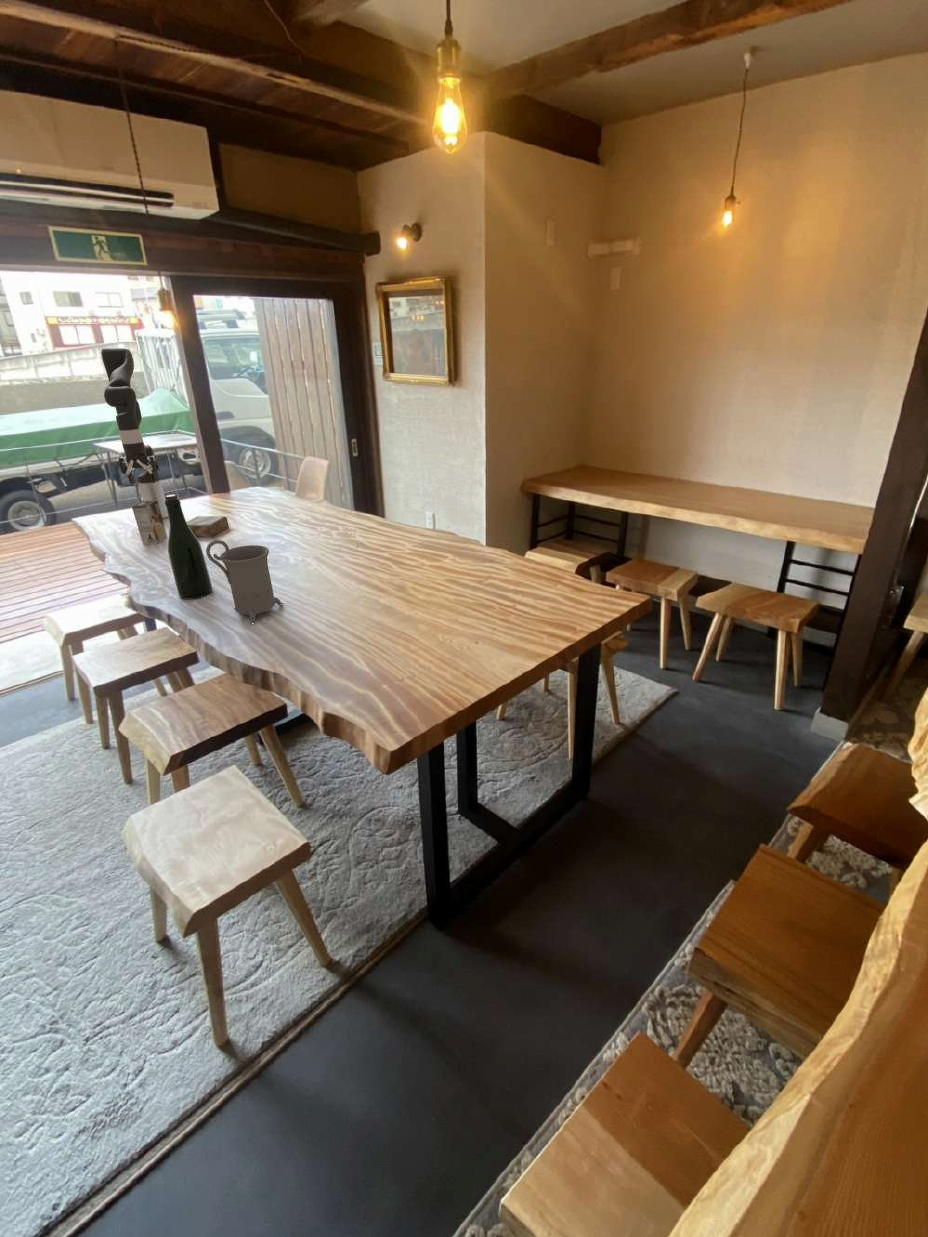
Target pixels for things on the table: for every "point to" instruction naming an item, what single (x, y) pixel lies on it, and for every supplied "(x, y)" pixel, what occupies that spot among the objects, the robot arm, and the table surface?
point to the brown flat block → (208, 526)
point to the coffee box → (149, 522)
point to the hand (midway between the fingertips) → (143, 483)
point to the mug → (247, 577)
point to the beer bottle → (185, 554)
